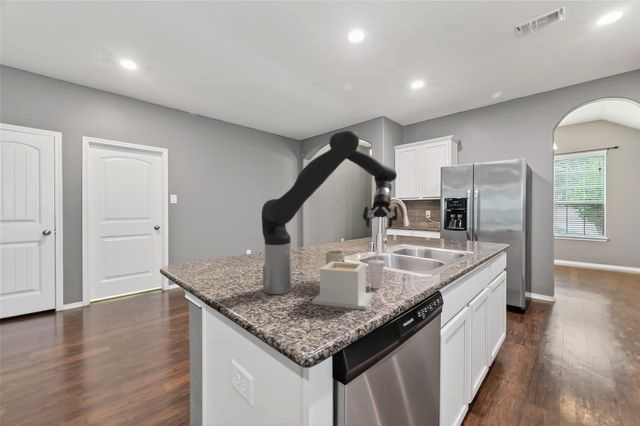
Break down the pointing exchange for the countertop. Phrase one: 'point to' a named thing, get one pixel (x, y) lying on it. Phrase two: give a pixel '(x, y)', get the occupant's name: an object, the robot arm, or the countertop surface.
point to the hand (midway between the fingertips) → (378, 226)
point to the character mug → (334, 256)
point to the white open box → (343, 286)
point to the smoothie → (376, 272)
